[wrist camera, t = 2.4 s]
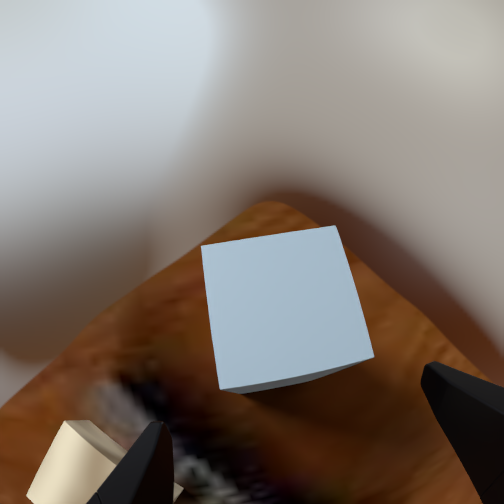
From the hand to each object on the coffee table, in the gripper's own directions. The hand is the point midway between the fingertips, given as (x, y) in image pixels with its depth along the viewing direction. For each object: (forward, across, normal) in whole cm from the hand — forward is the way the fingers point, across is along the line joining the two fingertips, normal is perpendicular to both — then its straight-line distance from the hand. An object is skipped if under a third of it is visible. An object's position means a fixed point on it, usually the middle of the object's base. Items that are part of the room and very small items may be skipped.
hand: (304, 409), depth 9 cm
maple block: (+4, +14, +14) cm, 20 cm away
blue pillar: (+12, 0, +6) cm, 13 cm away
